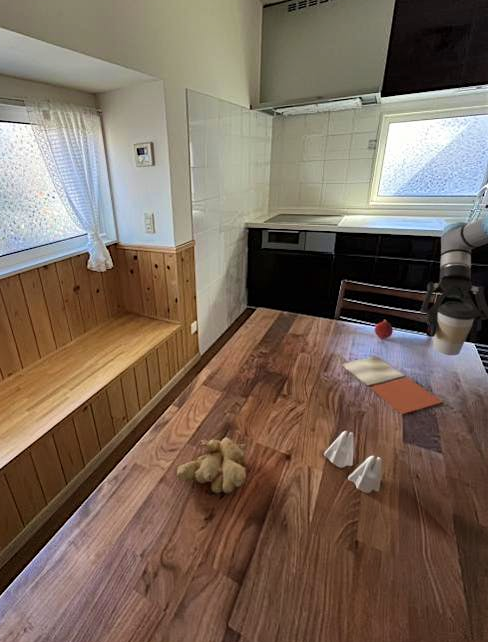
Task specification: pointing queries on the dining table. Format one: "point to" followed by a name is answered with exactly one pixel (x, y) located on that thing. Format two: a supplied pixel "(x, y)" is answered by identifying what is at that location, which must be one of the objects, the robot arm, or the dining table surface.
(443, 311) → the coffee cup
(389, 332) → the onion
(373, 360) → the cream mat
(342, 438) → the shaker set
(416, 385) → the terracotta mat
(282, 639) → the dining table surface
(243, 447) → the ginger root
